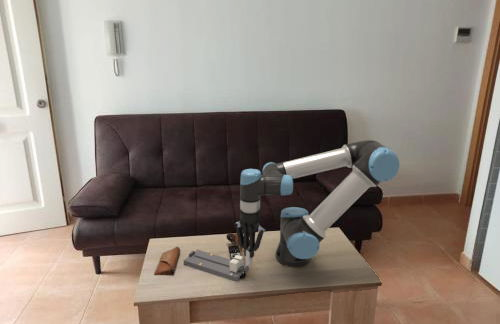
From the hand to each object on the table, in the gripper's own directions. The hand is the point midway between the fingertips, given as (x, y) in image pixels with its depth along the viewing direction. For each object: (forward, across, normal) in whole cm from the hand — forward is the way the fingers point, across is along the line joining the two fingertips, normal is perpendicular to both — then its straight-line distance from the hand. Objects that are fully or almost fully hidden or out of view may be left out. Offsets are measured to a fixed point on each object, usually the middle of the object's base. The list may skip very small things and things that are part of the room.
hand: (248, 263), depth 146 cm
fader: (+4, +6, 0) cm, 7 cm away
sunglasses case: (+7, +35, +8) cm, 37 cm away
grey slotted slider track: (+6, +16, 0) cm, 17 cm away
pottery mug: (+7, +16, -21) cm, 27 cm away
